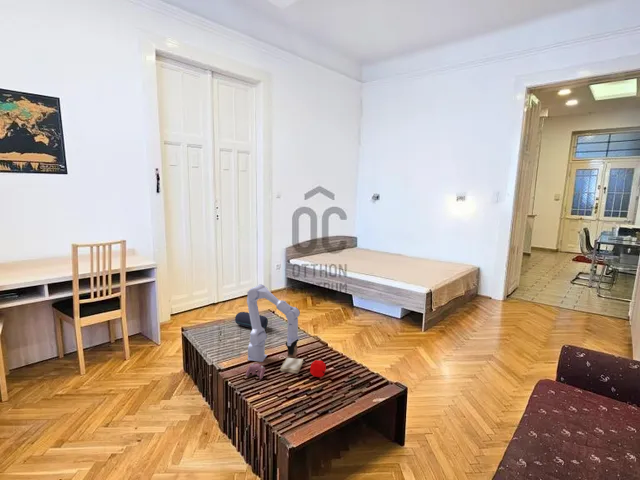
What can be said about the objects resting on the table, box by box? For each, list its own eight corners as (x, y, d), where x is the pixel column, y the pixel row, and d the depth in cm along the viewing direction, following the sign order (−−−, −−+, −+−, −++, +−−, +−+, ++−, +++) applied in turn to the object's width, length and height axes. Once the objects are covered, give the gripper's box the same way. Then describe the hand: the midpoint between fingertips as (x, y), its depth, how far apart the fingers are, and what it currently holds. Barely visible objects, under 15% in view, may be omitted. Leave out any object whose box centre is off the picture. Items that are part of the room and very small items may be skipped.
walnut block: (287, 356, 190) (287, 348, 189) (289, 352, 194) (289, 344, 193) (295, 357, 189) (295, 349, 188) (297, 353, 193) (297, 345, 193)
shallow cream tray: (280, 371, 188) (280, 367, 187) (286, 360, 199) (286, 357, 199) (298, 373, 186) (298, 369, 186) (303, 362, 198) (303, 359, 197)
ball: (323, 380, 180) (324, 366, 179) (309, 378, 182) (309, 365, 181) (326, 372, 188) (326, 359, 187) (312, 370, 190) (312, 357, 188)
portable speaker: (270, 328, 244) (270, 315, 242) (262, 333, 235) (262, 319, 233) (242, 321, 254) (241, 309, 252) (233, 326, 245) (233, 313, 243)
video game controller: (264, 379, 182) (267, 365, 184) (260, 379, 178) (263, 365, 180) (248, 375, 185) (251, 362, 187) (244, 376, 181) (247, 362, 183)
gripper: (296, 335, 181) (295, 359, 184) (302, 325, 195) (302, 347, 198) (283, 334, 183) (283, 357, 185) (290, 323, 197) (290, 345, 199)
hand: (292, 352), depth 191 cm, fingers closed on walnut block, 5 cm apart
